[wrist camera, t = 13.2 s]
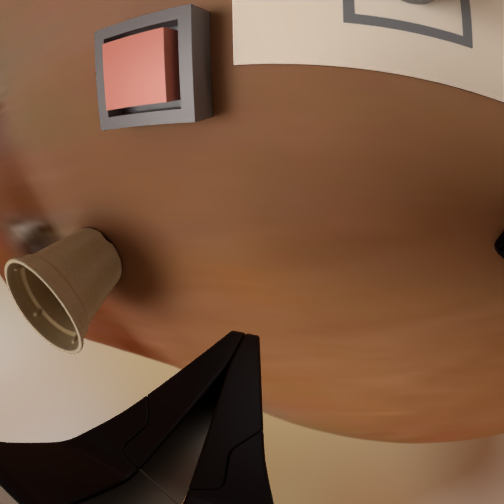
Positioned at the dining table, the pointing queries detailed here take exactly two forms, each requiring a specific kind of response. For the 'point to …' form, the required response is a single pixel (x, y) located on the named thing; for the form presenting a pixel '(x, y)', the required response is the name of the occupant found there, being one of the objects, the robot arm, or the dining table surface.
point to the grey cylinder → (418, 1)
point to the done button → (142, 69)
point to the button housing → (190, 69)
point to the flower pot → (64, 286)
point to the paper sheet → (379, 38)
